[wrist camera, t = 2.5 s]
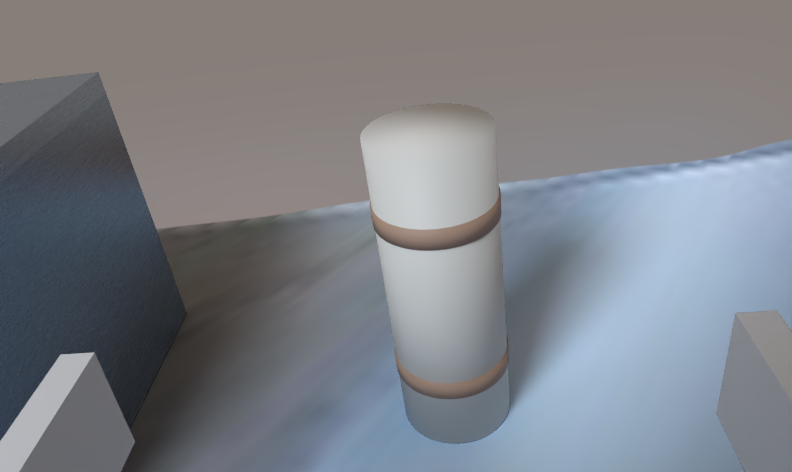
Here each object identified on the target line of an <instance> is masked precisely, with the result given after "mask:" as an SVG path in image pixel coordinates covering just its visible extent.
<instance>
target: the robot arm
mask: <svg viewBox="0 0 792 472" xmlns="http://www.w3.org/2000/svg"><path fill="white" fill-rule="evenodd" d="M716 414H717V416H718V418H719V420H720V422H721V424H722V426H723V428H724V430H725V432H726V434H727V436H728V438H729V441H730V443H731V445H732V447H733V449H734V451H735V453H736V455H737V457H738V459H739V461H740V463H741V465H742V467H743V469H744V471H745V472H792V331H791V330H790V328H789V327H788V325H787V324H786V323H785V321H784V320H783V319H782V317H781V316H780V314H779V313H778V312H777V311H761V312H745V313H736V314H735V319H734V324H733V329H732V335H731V340H730V345H729V350H728V356H727V361H726V366H725V371H724V376H723V382H722V387H721V392H720V397H719V403H718V408H717V413H716ZM134 443H135V440H134V438H133V436H132V434H131V432H130V429H129V427H128V425H127V423H126V421H125V418H124V416H123V414H122V412H121V410H120V407H119V405H118V403H117V401H116V399H115V396H114V394H113V392H112V390H111V388H110V385H109V383H108V381H107V379H106V377H105V374H104V372H103V370H102V368H101V366H100V363H99V361H98V359H97V357H96V354H95V352H93V353H77V354H61V355H60V356H59V357H58V359H57V360H56V362H55V363H54V365H53V366H52V367H51V369H50V370H49V372H48V373H47V375H46V376H45V378H44V379H43V380H42V382H41V383H40V385H39V386H38V388H37V389H36V391H35V392H34V393H33V395H32V396H31V398H30V399H29V401H28V402H27V403H26V405H25V406H24V408H23V409H22V411H21V412H20V414H19V415H18V416H17V418H16V419H15V421H14V422H13V424H12V425H11V426H10V428H9V429H8V431H7V432H6V434H5V435H4V437H3V438H2V439H1V441H0V472H121V470H122V468H123V466H124V464H125V462H126V460H127V458H128V456H129V454H130V452H131V449H132V447H133V445H134Z"/></svg>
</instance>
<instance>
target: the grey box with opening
mask: <svg viewBox="0 0 792 472" xmlns="http://www.w3.org/2000/svg"><path fill="white" fill-rule="evenodd" d="M186 313H187V312H186V310H185V307H184V304H183V301H182V299H181V296H180V293H179V290H178V288H177V285H176V282H175V280H174V277H173V274H172V271H171V269H170V266H169V263H168V261H167V258H166V255H165V252H164V250H163V247H162V244H161V242H160V239H159V236H158V233H157V231H156V228H155V225H154V223H153V220H152V217H151V214H150V212H149V209H148V206H147V204H146V201H145V198H144V195H143V193H142V190H141V187H140V185H139V182H138V179H137V176H136V174H135V171H134V168H133V165H132V163H131V160H130V157H129V155H128V152H127V149H126V147H125V144H124V141H123V138H122V136H121V133H120V131H119V128H118V125H117V122H116V119H115V117H114V114H113V111H112V108H111V106H110V103H109V100H108V98H107V95H106V92H105V90H104V87H103V84H102V81H101V79H100V76H99V73H98V72H95V73H87V74H78V75H69V76H61V77H52V78H44V79H34V80H27V81H17V82H9V83H0V441H1V439H2V438H3V437H4V435H5V434H6V432H7V431H8V429H9V428H10V426H11V425H12V424H13V422H14V421H15V419H16V418H17V416H18V415H19V414H20V412H21V411H22V409H23V408H24V406H25V405H26V403H27V402H28V401H29V399H30V398H31V396H32V395H33V393H34V392H35V391H36V389H37V388H38V386H39V385H40V383H41V382H42V380H43V379H44V378H45V376H46V375H47V373H48V372H49V370H50V369H51V367H52V366H53V365H54V363H55V362H56V360H57V359H58V357H59V356H60V355H61V354H77V353H93V352H95V354H96V357H97V359H98V361H99V363H100V366H101V368H102V370H103V372H104V374H105V377H106V379H107V381H108V383H109V385H110V388H111V390H112V392H113V394H114V396H115V399H116V401H117V403H118V405H119V407H120V410H121V412H122V414H123V416H124V418H125V421H126V423H127V425H128V427H129V429H130V427H131V425H132V423H133V421H134V419H135V417H136V415H137V413H138V411H139V409H140V407H141V405H142V403H143V401H144V399H145V397H146V395H147V393H148V391H149V388H150V386H151V384H152V382H153V380H154V378H155V376H156V374H157V372H158V370H159V368H160V366H161V364H162V362H163V360H164V358H165V356H166V354H167V352H168V350H169V348H170V346H171V344H172V342H173V340H174V338H175V336H176V334H177V331H178V329H179V327H180V325H181V323H182V321H183V319H184V317H185V315H186Z"/></svg>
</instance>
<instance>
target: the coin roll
mask: <svg viewBox="0 0 792 472" xmlns="http://www.w3.org/2000/svg"><path fill="white" fill-rule="evenodd" d="M360 141H361V146H362V152H363V159H364V164H365V171H366V176H367V183H368V189H369V194H370V209H371V215H372V221H373V226H374V230H375V231H376V236H377V242H378V248H379V254H380V260H381V266H382V272H383V278H384V284H385V290H386V296H387V302H388V308H389V314H390V320H391V326H392V332H393V338H394V344H395V347H394V348H395V358H396V363H397V369H398V372H399V375H400V380H401V386H402V392H403V398H404V404H405V410H406V415H407V417H408V420H409V421H410V423H411V425H412V426H413V427H414V428H415V429H416V430H417V431H418V432H419V433H421V434H422V435H424V436H426V437H428V438H430V439H432V440H435V441H439V442H443V443H451V444H459V443H468V442H472V441H476V440H479V439H481V438H484V437H486V436H488V435H489V434H491V433H492V432H494V431H495V430H496V429H498V427H499V426H500V425H501V424H502V423H503V422H504V420H505V419H506V417H507V415H508V412H509V407H510V397H509V378H508V361H509V355H508V339H507V335H506V320H505V300H504V281H503V262H502V242H501V223H500V218H501V195H500V188H499V184H498V166H497V147H496V146H497V145H496V126H495V120H494V118H493V117H492V116H491V115H490V114H489V113H487V112H486V111H484V110H481V109H479V108H476V107H472V106H468V105H461V104H427V105H420V106H414V107H409V108H404V109H401V110H397V111H394V112H391V113H388V114H386V115H384V116H382V117H380V118H377V119H376V120H374V121H372V122H371V123H370V124H368V125H367V126H366V127H365V128H364V130H363V131H362V133H361V136H360Z"/></svg>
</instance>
